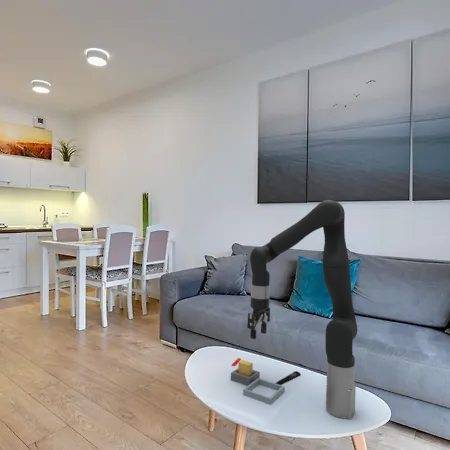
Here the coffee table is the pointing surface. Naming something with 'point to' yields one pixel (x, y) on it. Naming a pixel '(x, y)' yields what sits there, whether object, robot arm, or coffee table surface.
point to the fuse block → (244, 377)
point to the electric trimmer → (289, 378)
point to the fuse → (245, 368)
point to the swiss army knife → (236, 362)
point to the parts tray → (263, 398)
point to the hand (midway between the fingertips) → (258, 335)
